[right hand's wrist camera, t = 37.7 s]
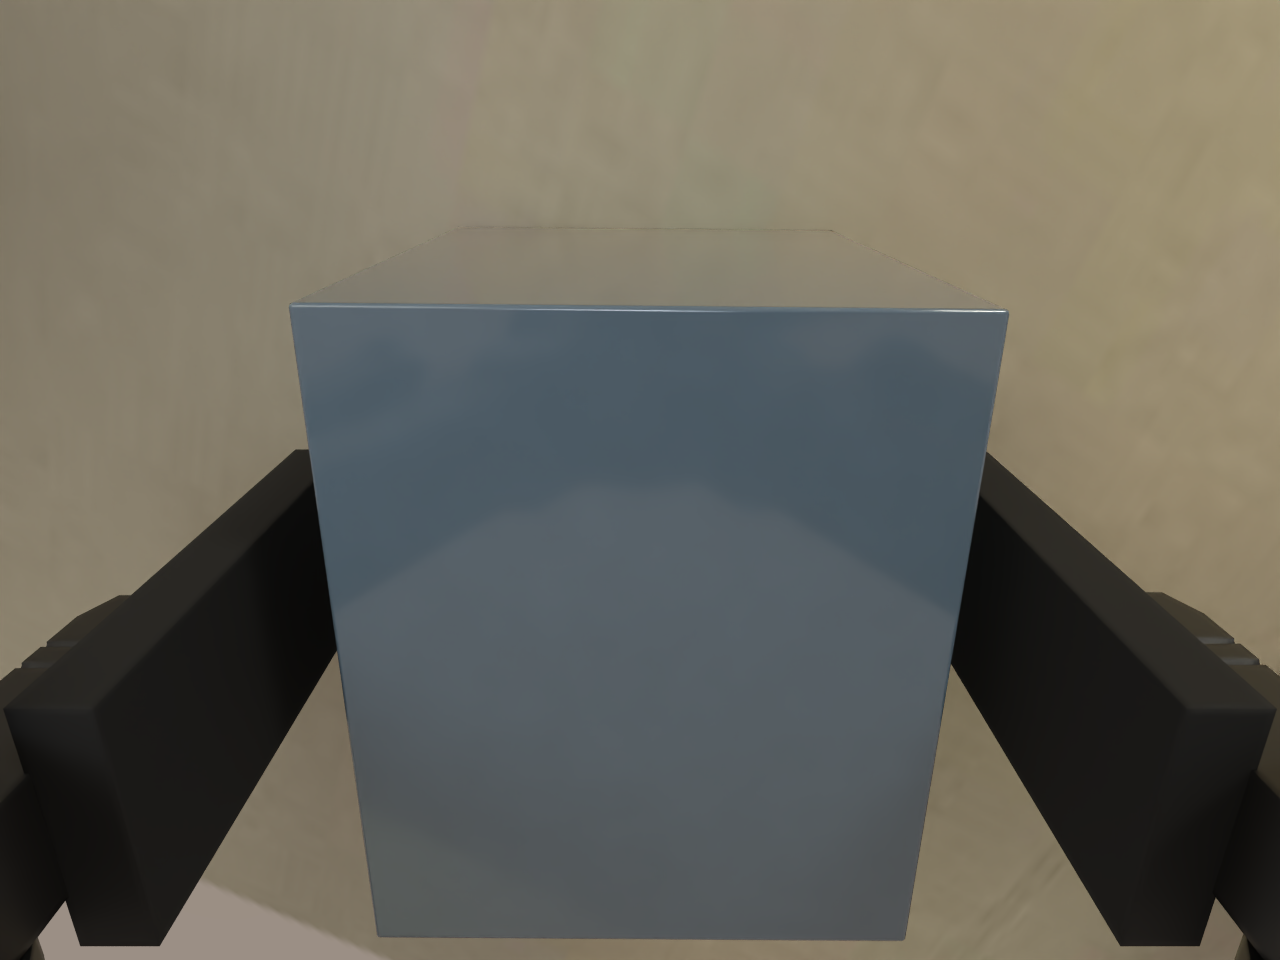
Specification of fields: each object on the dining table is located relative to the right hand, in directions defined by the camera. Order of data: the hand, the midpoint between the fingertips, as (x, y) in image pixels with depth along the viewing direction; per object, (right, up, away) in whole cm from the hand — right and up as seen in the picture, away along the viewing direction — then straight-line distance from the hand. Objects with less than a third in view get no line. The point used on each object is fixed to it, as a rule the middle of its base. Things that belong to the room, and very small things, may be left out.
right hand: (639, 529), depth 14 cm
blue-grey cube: (0, +2, +4) cm, 4 cm away
